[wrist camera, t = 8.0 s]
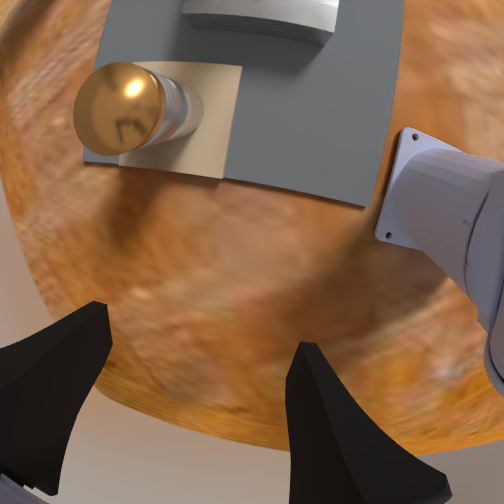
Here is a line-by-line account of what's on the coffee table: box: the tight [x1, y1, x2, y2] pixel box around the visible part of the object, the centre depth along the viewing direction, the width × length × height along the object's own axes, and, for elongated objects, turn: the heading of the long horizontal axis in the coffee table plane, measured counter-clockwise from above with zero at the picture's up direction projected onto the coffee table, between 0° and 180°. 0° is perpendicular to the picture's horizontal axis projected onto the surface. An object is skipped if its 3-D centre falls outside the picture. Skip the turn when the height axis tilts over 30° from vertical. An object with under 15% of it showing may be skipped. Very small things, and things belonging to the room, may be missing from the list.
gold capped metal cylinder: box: [73, 62, 204, 156], centre depth 11 cm, size 3×3×8 cm
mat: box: [83, 0, 404, 208], centre depth 14 cm, size 20×18×1 cm
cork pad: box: [119, 61, 243, 179], centre depth 15 cm, size 7×7×1 cm
